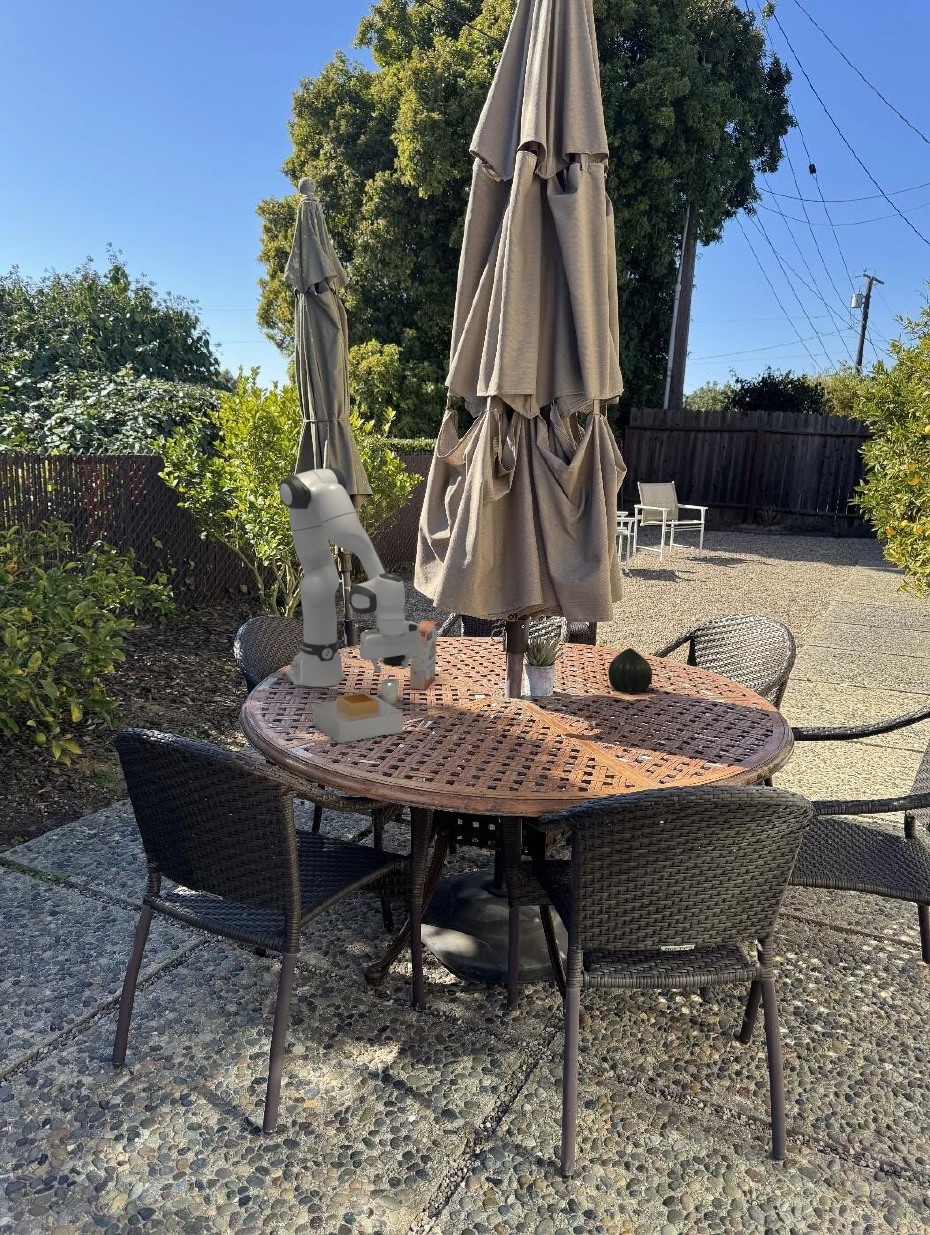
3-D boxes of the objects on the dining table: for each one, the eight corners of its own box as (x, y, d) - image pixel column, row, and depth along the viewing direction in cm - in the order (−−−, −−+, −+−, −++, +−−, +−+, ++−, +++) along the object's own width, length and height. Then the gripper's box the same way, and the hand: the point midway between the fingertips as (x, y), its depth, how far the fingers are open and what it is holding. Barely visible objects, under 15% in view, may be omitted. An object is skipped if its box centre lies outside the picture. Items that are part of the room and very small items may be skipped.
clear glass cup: (378, 704, 273) (379, 680, 271) (392, 702, 275) (393, 678, 274) (386, 709, 269) (386, 684, 267) (400, 706, 271) (400, 682, 270)
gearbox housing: (312, 724, 253) (312, 694, 251) (373, 713, 264) (374, 685, 262) (338, 744, 238) (339, 712, 236) (402, 732, 249) (403, 702, 247)
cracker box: (426, 691, 288) (428, 630, 284) (409, 689, 289) (410, 628, 285) (436, 679, 302) (438, 621, 297) (419, 677, 303) (421, 619, 298)
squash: (636, 685, 286) (650, 646, 292) (595, 677, 295) (611, 640, 300) (648, 705, 296) (662, 667, 302) (609, 697, 305) (623, 661, 310)
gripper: (364, 632, 258) (365, 677, 261) (424, 624, 269) (424, 667, 272) (355, 628, 263) (356, 672, 266) (414, 620, 274) (414, 662, 277)
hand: (391, 669), depth 269 cm, fingers open, 8 cm apart
